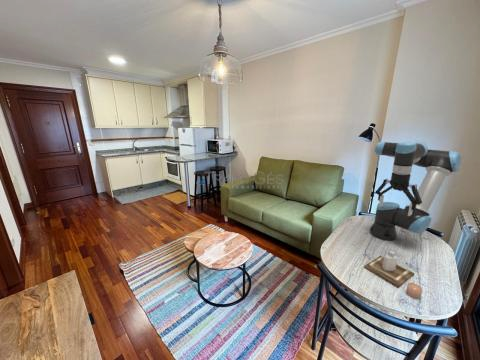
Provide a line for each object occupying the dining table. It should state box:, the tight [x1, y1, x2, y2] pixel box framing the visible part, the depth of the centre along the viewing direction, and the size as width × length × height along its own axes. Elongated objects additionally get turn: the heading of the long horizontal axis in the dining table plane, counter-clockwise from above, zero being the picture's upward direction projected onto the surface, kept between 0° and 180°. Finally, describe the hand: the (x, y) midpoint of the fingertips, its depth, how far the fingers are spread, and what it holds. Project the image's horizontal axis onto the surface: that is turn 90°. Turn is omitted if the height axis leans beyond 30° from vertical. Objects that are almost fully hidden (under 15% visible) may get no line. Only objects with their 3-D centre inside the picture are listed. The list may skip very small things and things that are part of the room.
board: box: [363, 255, 415, 289], centre depth 103 cm, size 16×16×2 cm
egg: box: [405, 282, 423, 300], centre depth 89 cm, size 5×5×4 cm
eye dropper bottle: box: [382, 248, 398, 271], centre depth 101 cm, size 4×6×12 cm
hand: (394, 210), depth 107 cm, fingers open, 13 cm apart
